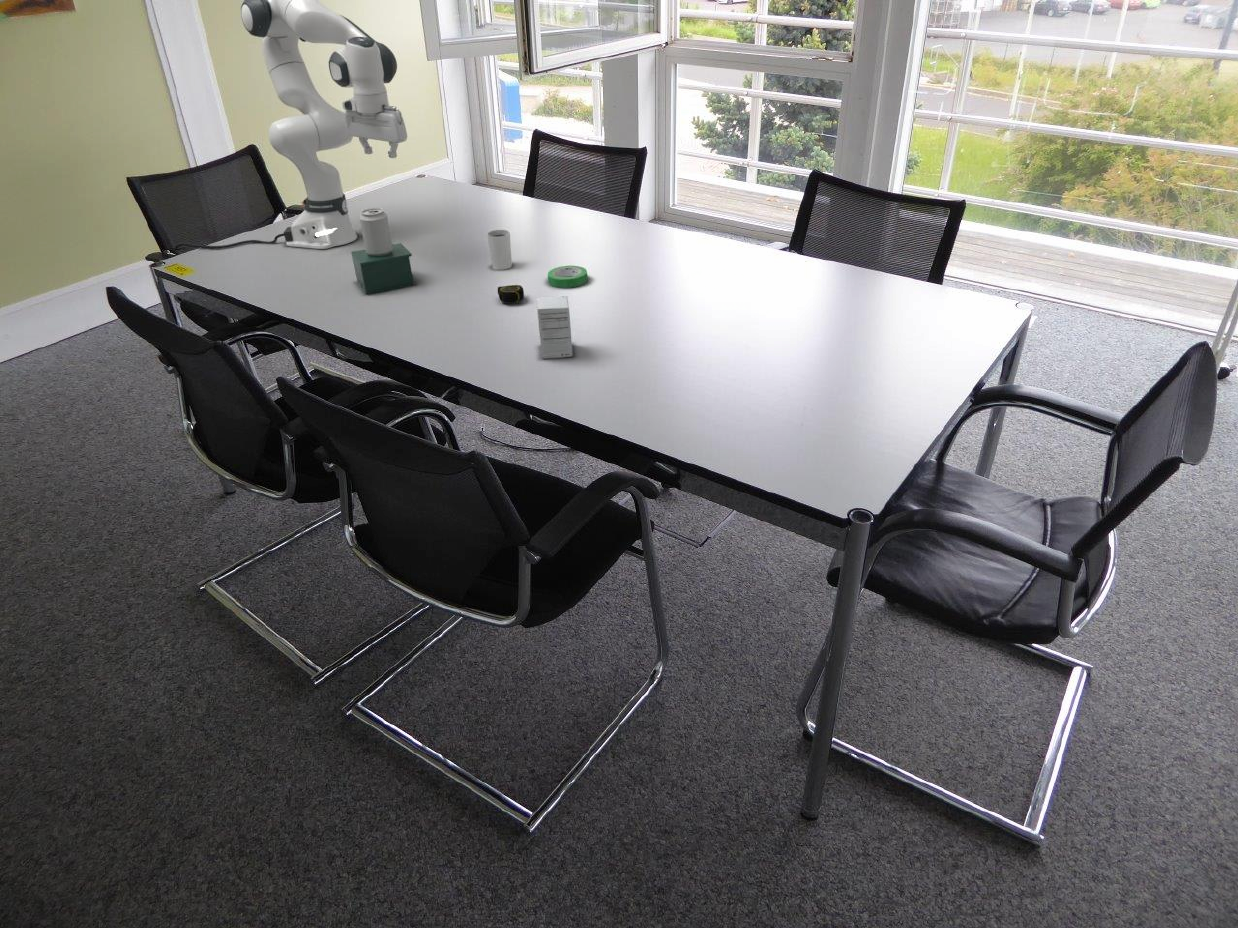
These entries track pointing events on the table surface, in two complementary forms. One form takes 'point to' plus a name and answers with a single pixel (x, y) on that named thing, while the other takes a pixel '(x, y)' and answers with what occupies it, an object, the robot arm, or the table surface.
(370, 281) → the tin
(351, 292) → the table surface
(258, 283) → the table surface
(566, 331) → the white packaging box
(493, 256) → the white cup
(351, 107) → the robot arm
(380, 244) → the can
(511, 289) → the tape measure
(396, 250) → the tin lid
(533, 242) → the table surface
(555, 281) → the tape roll
